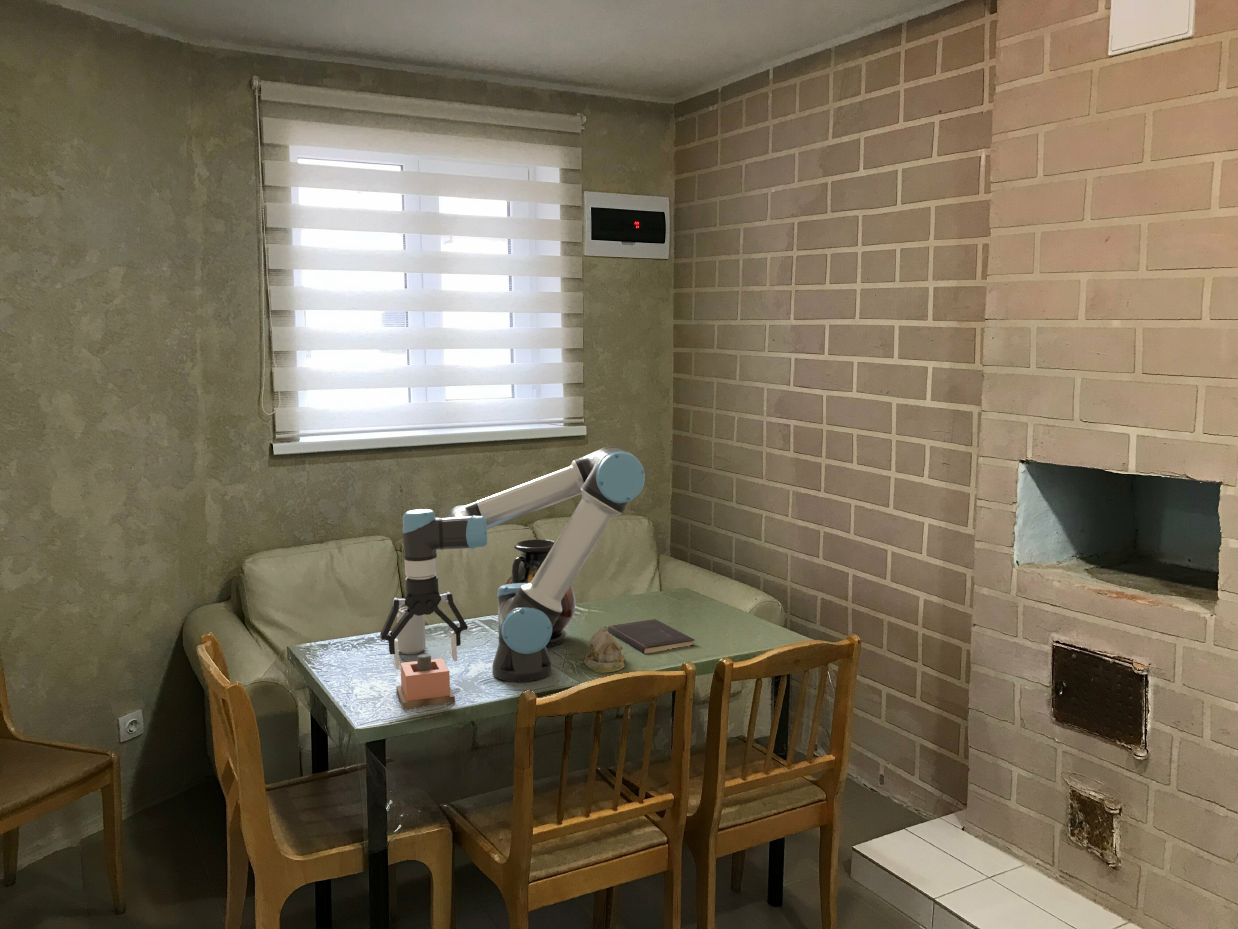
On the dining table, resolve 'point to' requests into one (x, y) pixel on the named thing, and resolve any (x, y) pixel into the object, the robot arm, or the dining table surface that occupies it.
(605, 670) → the ceramic model
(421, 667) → the post stand
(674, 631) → the hardcover book
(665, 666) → the dining table surface
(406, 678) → the collar
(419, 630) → the can
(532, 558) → the amphora vase
